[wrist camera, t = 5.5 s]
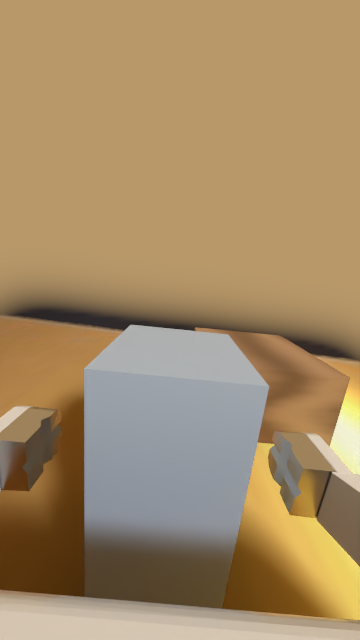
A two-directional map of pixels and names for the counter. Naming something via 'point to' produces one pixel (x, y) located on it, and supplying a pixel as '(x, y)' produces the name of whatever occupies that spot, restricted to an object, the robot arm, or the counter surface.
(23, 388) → the counter surface
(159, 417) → the slate block
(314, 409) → the walnut block
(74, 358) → the counter surface
